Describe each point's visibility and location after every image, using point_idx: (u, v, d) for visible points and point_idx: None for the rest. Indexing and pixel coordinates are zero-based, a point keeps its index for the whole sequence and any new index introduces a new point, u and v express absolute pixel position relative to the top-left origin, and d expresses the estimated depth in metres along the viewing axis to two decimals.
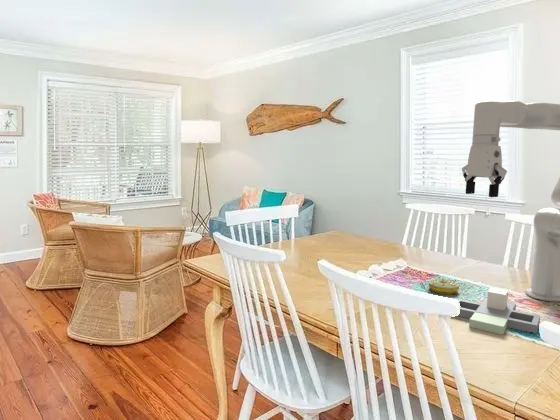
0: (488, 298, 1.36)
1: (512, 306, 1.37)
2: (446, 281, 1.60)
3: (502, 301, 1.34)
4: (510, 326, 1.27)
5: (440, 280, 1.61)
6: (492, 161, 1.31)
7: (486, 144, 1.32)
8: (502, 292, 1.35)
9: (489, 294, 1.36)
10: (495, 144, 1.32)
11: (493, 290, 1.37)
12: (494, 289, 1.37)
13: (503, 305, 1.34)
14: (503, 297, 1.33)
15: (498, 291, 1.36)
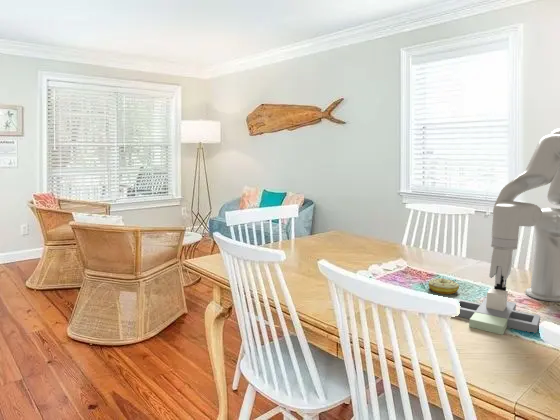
0: (487, 299, 1.35)
1: (512, 306, 1.37)
2: (446, 281, 1.60)
3: (501, 302, 1.33)
4: (510, 326, 1.27)
5: (440, 280, 1.61)
6: None
7: None
8: (501, 292, 1.35)
9: (488, 295, 1.35)
10: None
11: (492, 290, 1.36)
12: (493, 290, 1.37)
13: (502, 306, 1.33)
14: (502, 298, 1.32)
15: (497, 292, 1.35)
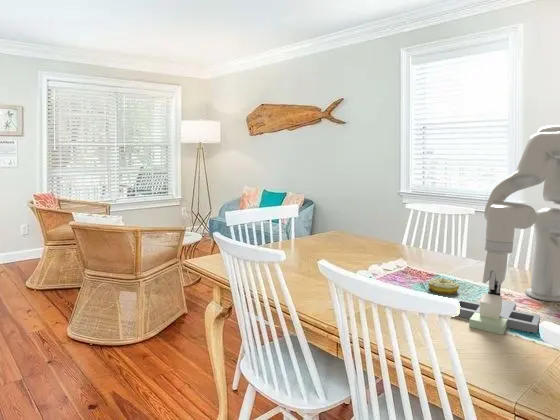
0: (481, 308, 1.28)
1: (512, 306, 1.37)
2: (446, 281, 1.60)
3: (495, 311, 1.26)
4: (510, 326, 1.27)
5: (440, 280, 1.61)
6: None
7: None
8: (495, 300, 1.27)
9: (481, 304, 1.28)
10: None
11: (485, 298, 1.29)
12: (487, 297, 1.29)
13: (497, 315, 1.26)
14: (496, 307, 1.25)
15: (491, 300, 1.27)
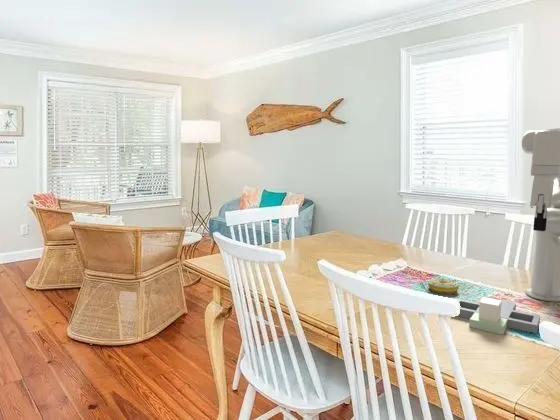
0: (480, 309, 1.27)
1: (512, 306, 1.37)
2: (445, 281, 1.60)
3: (495, 312, 1.25)
4: (510, 326, 1.27)
5: (440, 280, 1.61)
6: None
7: None
8: (494, 302, 1.26)
9: (481, 305, 1.27)
10: None
11: (485, 300, 1.28)
12: (486, 299, 1.29)
13: (496, 316, 1.25)
14: (496, 308, 1.24)
15: (490, 301, 1.27)
